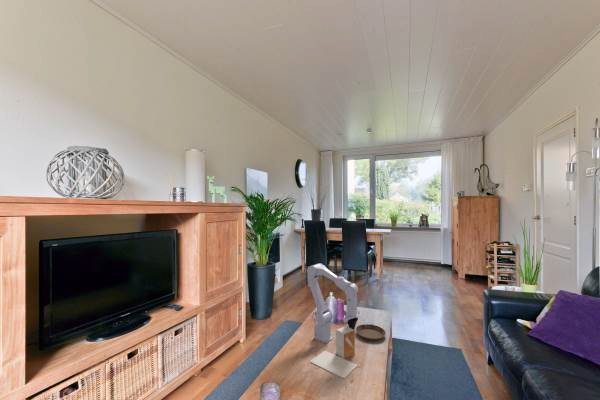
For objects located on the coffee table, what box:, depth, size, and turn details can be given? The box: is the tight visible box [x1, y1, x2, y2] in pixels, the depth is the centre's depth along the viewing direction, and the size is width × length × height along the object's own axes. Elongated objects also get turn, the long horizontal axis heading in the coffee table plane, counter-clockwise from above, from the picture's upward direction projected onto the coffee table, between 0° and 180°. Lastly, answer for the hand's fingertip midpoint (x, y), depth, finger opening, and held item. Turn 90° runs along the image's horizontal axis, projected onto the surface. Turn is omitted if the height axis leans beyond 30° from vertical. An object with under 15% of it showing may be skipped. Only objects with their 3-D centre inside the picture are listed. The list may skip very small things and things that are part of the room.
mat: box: [309, 350, 358, 380], centre depth 134 cm, size 20×13×1 cm, turn 49°
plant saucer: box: [355, 323, 387, 342], centre depth 163 cm, size 18×18×3 cm
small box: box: [335, 325, 356, 360], centre depth 143 cm, size 8×6×13 cm
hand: (351, 330), depth 148 cm, fingers closed
